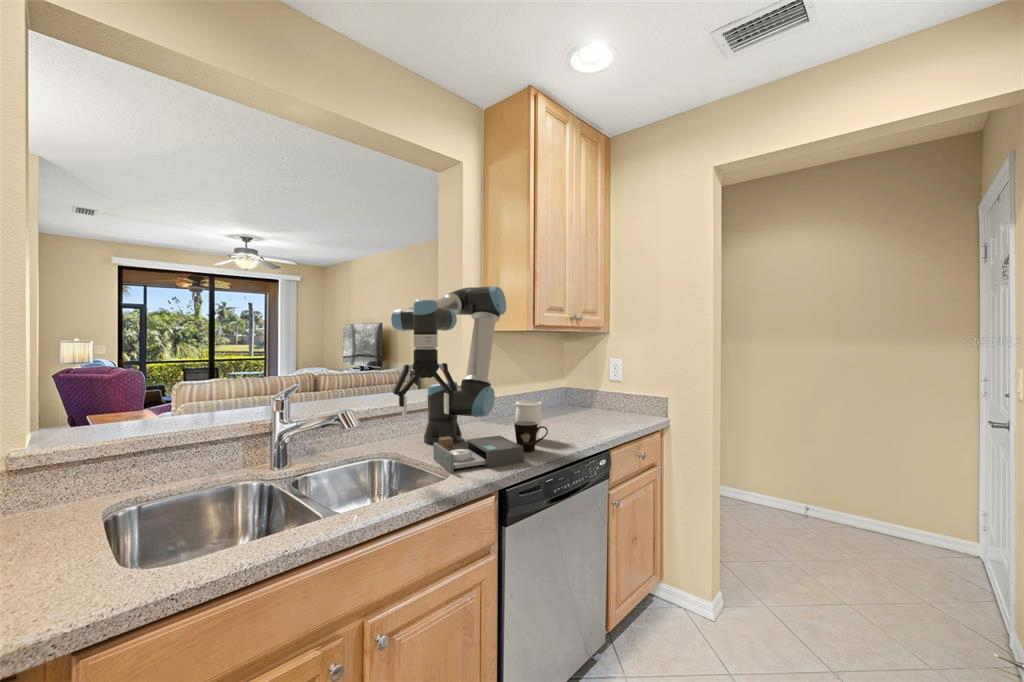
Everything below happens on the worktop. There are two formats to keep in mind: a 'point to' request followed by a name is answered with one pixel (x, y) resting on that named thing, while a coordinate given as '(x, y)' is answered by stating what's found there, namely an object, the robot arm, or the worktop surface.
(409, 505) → the worktop surface
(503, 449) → the housing
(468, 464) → the tray
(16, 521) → the worktop surface
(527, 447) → the coffee mug
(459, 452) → the disc
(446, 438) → the brown wooden block
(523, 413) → the jar
